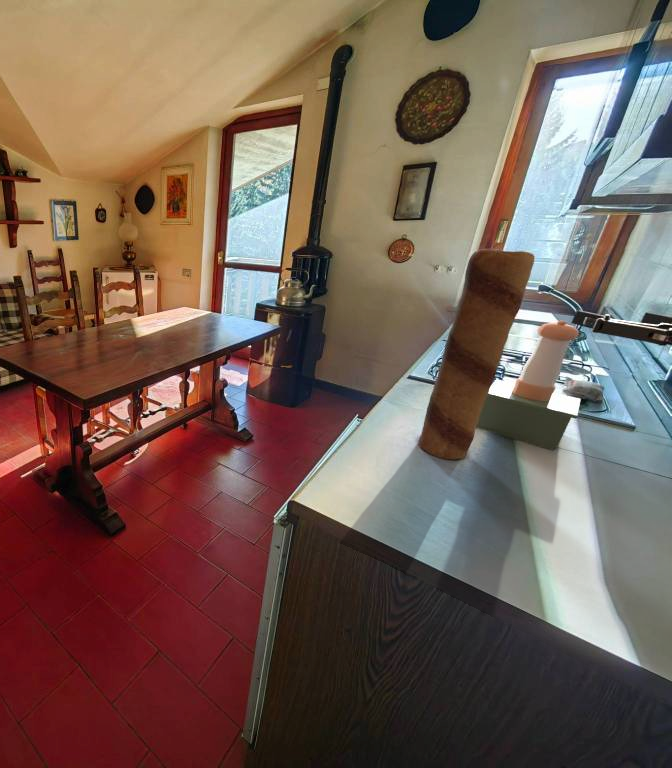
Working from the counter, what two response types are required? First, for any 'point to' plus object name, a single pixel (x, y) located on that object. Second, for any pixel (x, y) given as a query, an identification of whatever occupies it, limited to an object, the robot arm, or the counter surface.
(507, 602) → the counter surface
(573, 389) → the packaged food
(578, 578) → the counter surface
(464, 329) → the wafer roll
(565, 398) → the lid
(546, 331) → the pepper shaker
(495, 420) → the green box
